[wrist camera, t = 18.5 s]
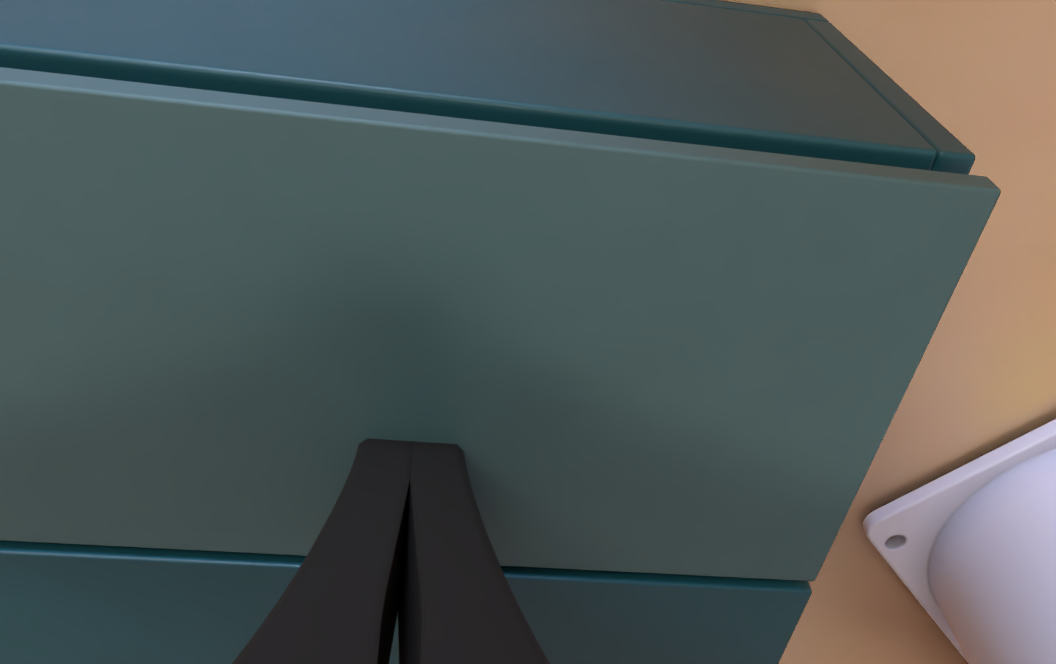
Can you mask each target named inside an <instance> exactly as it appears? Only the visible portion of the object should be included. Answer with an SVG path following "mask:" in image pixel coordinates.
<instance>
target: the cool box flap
mask: <svg viewBox="0 0 1056 664" xmlns="http://www.w3.org/2000/svg"><path fill="white" fill-rule="evenodd" d="M1000 192H1001V191H1000V189H999V188H998V187H997V186H996V185H995V184H994V183H993V182H992V181H991V180H990V179H989V178H987V177H984V176H975V175H966V174H957V173H948V172H939V171H930V170H921V169H912V168H903V167H894V166H885V165H876V164H867V163H858V162H849V161H840V160H831V159H822V158H813V157H804V156H795V155H786V154H777V153H768V152H759V151H750V150H741V149H732V148H723V147H714V146H705V145H696V144H687V143H678V142H669V141H660V140H651V139H643V138H634V137H625V136H616V135H607V134H598V133H589V132H580V131H571V130H562V129H553V128H544V127H535V126H526V125H517V124H508V123H499V122H490V121H481V120H472V119H463V118H454V117H445V116H436V115H427V114H418V113H409V112H400V111H391V110H382V109H373V108H364V107H355V106H346V105H337V104H328V103H319V102H310V101H301V100H292V99H283V98H274V97H265V96H256V95H247V94H238V93H229V92H220V91H211V90H202V89H193V88H184V87H175V86H166V85H157V84H148V83H139V82H130V81H121V80H112V79H103V78H94V77H85V76H76V75H67V74H58V73H49V72H40V71H31V70H22V69H13V68H4V67H0V540H2V541H22V542H42V543H62V544H81V545H101V546H121V547H141V548H161V549H181V550H201V551H221V552H240V553H260V554H280V555H300V556H307V555H308V553H309V551H310V550H311V548H312V546H313V544H314V543H315V541H316V539H317V537H318V535H319V533H320V532H321V530H322V528H323V526H324V524H325V523H326V521H327V519H328V517H329V515H330V514H331V512H332V510H333V508H334V506H335V504H336V501H337V499H338V497H339V495H340V493H341V491H342V489H343V487H344V485H345V482H346V480H347V478H348V475H349V473H350V470H351V467H352V465H353V462H354V459H355V456H356V453H357V449H358V445H359V444H360V443H361V442H363V441H364V440H366V439H367V438H371V439H386V440H401V441H416V442H431V443H447V444H457V445H458V446H459V447H460V448H461V449H462V450H463V451H464V456H465V462H466V467H467V471H468V476H469V480H470V483H471V487H472V490H473V494H474V497H475V500H476V503H477V506H478V509H479V512H480V515H481V518H482V521H483V524H484V526H485V529H486V532H487V534H488V537H489V539H490V542H491V544H492V547H493V549H494V551H495V554H496V556H497V559H498V561H499V564H500V566H519V567H539V568H558V569H578V570H598V571H618V572H638V573H658V574H678V575H698V576H717V577H737V578H757V579H777V580H797V581H814V580H815V579H816V577H817V575H818V573H819V571H820V569H821V567H822V565H823V563H824V560H825V558H826V556H827V554H828V552H829V550H830V548H831V546H832V544H833V542H834V540H835V537H836V535H837V533H838V531H839V529H840V527H841V525H842V523H843V521H844V519H845V517H846V515H847V512H848V510H849V508H850V506H851V504H852V502H853V500H854V498H855V496H856V494H857V492H858V490H859V487H860V485H861V483H862V481H863V479H864V477H865V475H866V473H867V471H868V469H869V467H870V465H871V462H872V460H873V458H874V456H875V454H876V452H877V450H878V448H879V446H880V444H881V442H882V440H883V437H884V435H885V433H886V431H887V429H888V427H889V425H890V423H891V421H892V419H893V417H894V414H895V412H896V410H897V408H898V406H899V404H900V402H901V400H902V398H903V396H904V394H905V392H906V389H907V387H908V385H909V383H910V381H911V379H912V377H913V375H914V373H915V371H916V369H917V367H918V364H919V362H920V360H921V358H922V356H923V354H924V352H925V350H926V348H927V346H928V344H929V342H930V339H931V337H932V335H933V333H934V331H935V329H936V327H937V325H938V323H939V321H940V319H941V316H942V314H943V312H944V310H945V308H946V306H947V304H948V302H949V300H950V298H951V296H952V294H953V291H954V289H955V287H956V285H957V283H958V281H959V279H960V277H961V275H962V273H963V271H964V269H965V266H966V264H967V262H968V260H969V258H970V256H971V254H972V252H973V250H974V248H975V246H976V244H977V241H978V239H979V237H980V235H981V233H982V231H983V229H984V227H985V225H986V223H987V221H988V219H989V216H990V214H991V212H992V210H993V208H994V206H995V204H996V202H997V200H998V198H999V196H1000Z"/></svg>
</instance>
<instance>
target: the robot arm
mask: <svg viewBox="0 0 1056 664" xmlns="http://www.w3.org/2000/svg"><path fill="white" fill-rule="evenodd" d="M863 528H864V531H865V533H866V535H867V537H868V539H869V541H870V542H871V543H872V544H873V546H874V547H875V548H876V549H877V551H878V552H879V553H880V554H881V556H882V557H883V558H884V559H885V561H886V562H887V563H888V564H889V565H890V567H891V568H892V569H893V570H894V572H895V573H896V574H897V575H898V577H899V578H900V579H901V580H902V582H903V583H904V584H905V585H906V587H907V588H908V589H909V590H910V592H911V593H912V594H913V595H914V597H915V598H916V599H917V600H918V602H919V603H920V604H921V605H922V607H923V608H924V609H925V610H926V612H927V613H928V614H929V615H930V617H931V618H932V619H933V620H934V622H935V623H936V624H937V625H938V627H939V628H940V629H941V630H942V632H943V633H944V634H945V635H946V637H947V638H948V639H949V640H950V642H951V643H952V644H953V645H954V647H955V648H956V649H957V650H958V652H959V653H960V654H961V655H962V657H963V658H964V659H965V660H966V662H967V663H968V664H1056V419H1054V420H1052V421H1050V422H1048V423H1046V424H1044V425H1042V426H1040V427H1038V428H1036V429H1034V430H1032V431H1030V432H1028V433H1027V434H1025V435H1023V436H1021V437H1019V438H1017V439H1015V440H1013V441H1011V442H1009V443H1007V444H1005V445H1003V446H1001V447H999V448H997V449H995V450H993V451H991V452H989V453H987V454H985V455H983V456H981V457H979V458H977V459H975V460H973V461H971V462H969V463H967V464H965V465H963V466H961V467H959V468H957V469H955V470H953V471H951V472H949V473H947V474H945V475H943V476H941V477H939V478H937V479H935V480H933V481H931V482H929V483H927V484H925V485H923V486H921V487H919V488H917V489H915V490H913V491H911V492H910V493H908V494H906V495H904V496H902V497H900V498H898V499H896V500H894V501H892V502H890V503H888V504H886V505H884V506H882V507H880V508H878V509H876V510H874V511H872V512H871V513H870V514H868V515H867V517H866V518H865V519H864V521H863ZM397 614H398V642H399V664H550V662H549V661H548V659H547V657H546V656H545V654H544V652H543V650H542V649H541V647H540V645H539V643H538V641H537V640H536V638H535V636H534V634H533V632H532V630H531V628H530V627H529V625H528V623H527V621H526V619H525V617H524V615H523V613H522V611H521V609H520V607H519V605H518V603H517V601H516V599H515V597H514V595H513V593H512V591H511V588H510V586H509V584H508V582H507V580H506V577H505V575H504V573H503V571H502V568H501V566H500V564H499V561H498V559H497V556H496V554H495V551H494V549H493V547H492V544H491V542H490V539H489V537H488V534H487V532H486V529H485V526H484V524H483V521H482V518H481V515H480V512H479V509H478V506H477V503H476V500H475V497H474V494H473V490H472V487H471V483H470V480H469V476H468V471H467V467H466V462H465V456H464V451H463V450H462V449H461V448H460V447H459V446H458V445H457V444H447V443H431V442H416V441H401V440H386V439H371V438H367V439H366V440H364V441H363V442H361V443H360V444H359V445H358V449H357V453H356V456H355V459H354V462H353V465H352V467H351V470H350V473H349V475H348V478H347V480H346V482H345V485H344V487H343V489H342V491H341V493H340V495H339V497H338V499H337V501H336V504H335V506H334V508H333V510H332V512H331V514H330V515H329V517H328V519H327V521H326V523H325V524H324V526H323V528H322V530H321V532H320V533H319V535H318V537H317V539H316V541H315V543H314V544H313V546H312V548H311V550H310V551H309V553H308V555H307V556H306V558H305V560H304V561H303V563H302V564H301V566H300V568H299V569H298V571H297V572H296V574H295V575H294V577H293V578H292V580H291V582H290V583H289V585H288V586H287V588H286V589H285V591H284V592H283V594H282V596H281V597H280V599H279V600H278V602H277V603H276V605H275V606H274V608H273V609H272V610H271V612H270V613H269V615H268V616H267V617H266V619H265V620H264V622H263V623H262V625H261V626H260V627H259V629H258V630H257V631H256V633H255V634H254V635H253V637H252V638H251V639H250V641H249V642H248V643H247V645H246V646H245V647H244V649H243V650H242V651H241V652H240V654H239V655H238V656H237V658H236V659H235V660H234V661H233V663H232V664H389V661H390V655H391V649H392V643H393V637H394V631H395V625H396V619H397Z"/></svg>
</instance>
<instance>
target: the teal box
mask: <svg viewBox="0 0 1056 664" xmlns="http://www.w3.org/2000/svg"><path fill="white" fill-rule="evenodd" d="M0 67H4V68H13V69H22V70H31V71H40V72H49V73H58V74H67V75H76V76H85V77H94V78H103V79H112V80H121V81H130V82H139V83H148V84H157V85H166V86H175V87H184V88H193V89H202V90H211V91H220V92H229V93H238V94H247V95H256V96H265V97H274V98H283V99H292V100H301V101H310V102H319V103H328V104H337V105H346V106H355V107H364V108H373V109H382V110H391V111H400V112H409V113H418V114H427V115H436V116H445V117H454V118H463V119H472V120H481V121H490V122H499V123H508V124H517V125H526V126H535V127H544V128H553V129H562V130H571V131H580V132H589V133H598V134H607V135H616V136H625V137H634V138H643V139H651V140H660V141H669V142H678V143H687V144H696V145H705V146H714V147H723V148H732V149H741V150H750V151H759V152H768V153H777V154H786V155H795V156H804V157H813V158H822V159H831V160H840V161H849V162H858V163H867V164H876V165H885V166H894V167H903V168H912V169H921V170H930V171H939V172H948V173H957V174H966V175H968V174H969V172H970V170H971V167H972V165H973V163H974V161H975V155H974V154H973V153H972V152H971V151H970V150H969V149H967V148H966V147H965V146H964V145H963V144H962V143H961V142H960V141H959V140H958V139H956V138H955V137H954V136H953V135H952V134H951V133H950V132H949V131H948V130H947V129H946V128H944V127H943V126H942V125H941V124H940V123H939V122H938V121H937V120H936V119H935V118H934V117H932V116H931V115H930V114H929V113H928V112H927V111H926V110H925V109H924V108H923V107H922V106H920V105H919V104H918V103H917V102H916V101H915V100H914V99H913V98H912V97H911V96H909V95H908V94H907V93H906V92H905V91H904V90H903V89H902V88H901V87H900V86H899V85H897V84H896V83H895V82H894V81H893V80H892V79H891V78H890V77H889V76H888V75H887V74H885V73H884V72H883V71H882V70H881V69H880V68H879V67H878V66H877V65H876V64H875V63H873V62H872V61H871V60H870V59H869V58H868V57H867V56H866V55H865V54H864V53H863V52H861V51H860V50H859V49H858V48H857V47H856V46H855V45H854V44H853V43H852V42H850V41H849V40H848V39H847V38H846V37H845V36H844V35H843V34H842V33H841V32H840V31H838V30H837V29H836V28H835V27H834V26H833V25H832V24H831V23H829V21H828V20H826V19H825V18H824V17H823V16H822V15H821V14H817V13H809V12H802V11H794V10H786V9H779V8H771V7H764V6H756V5H748V4H741V3H733V2H726V1H718V0H0ZM305 558H306V556H300V555H280V554H260V553H240V552H221V551H201V550H181V549H161V548H141V547H121V546H101V545H81V544H62V543H42V542H22V541H2V540H0V664H232V663H233V661H234V660H235V659H236V658H237V656H238V655H239V654H240V652H241V651H242V650H243V649H244V647H245V646H246V645H247V643H248V642H249V641H250V639H251V638H252V637H253V635H254V634H255V633H256V631H257V630H258V629H259V627H260V626H261V625H262V623H263V622H264V620H265V619H266V617H267V616H268V615H269V613H270V612H271V610H272V609H273V608H274V606H275V605H276V603H277V602H278V600H279V599H280V597H281V596H282V594H283V592H284V591H285V589H286V588H287V586H288V585H289V583H290V582H291V580H292V578H293V577H294V575H295V574H296V572H297V571H298V569H299V568H300V566H301V564H302V563H303V561H304V560H305ZM501 568H502V571H503V573H504V575H505V577H506V580H507V582H508V584H509V586H510V588H511V591H512V593H513V595H514V597H515V599H516V601H517V603H518V605H519V607H520V609H521V611H522V613H523V615H524V617H525V619H526V621H527V623H528V625H529V627H530V628H531V630H532V632H533V634H534V636H535V638H536V640H537V641H538V643H539V645H540V647H541V649H542V650H543V652H544V654H545V656H546V657H547V659H548V661H549V662H550V664H778V663H779V661H780V659H781V657H782V655H783V653H784V650H785V648H786V646H787V644H788V642H789V640H790V638H791V636H792V633H793V631H794V629H795V627H796V625H797V623H798V621H799V619H800V617H801V614H802V612H803V610H804V608H805V606H806V604H807V602H808V600H809V598H810V595H811V593H812V591H811V588H810V585H809V583H808V581H797V580H777V579H757V578H737V577H717V576H698V575H678V574H658V573H638V572H618V571H598V570H578V569H558V568H539V567H519V566H501ZM389 664H399V642H398V614H397V619H396V625H395V631H394V637H393V643H392V649H391V655H390V661H389Z"/></svg>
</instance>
